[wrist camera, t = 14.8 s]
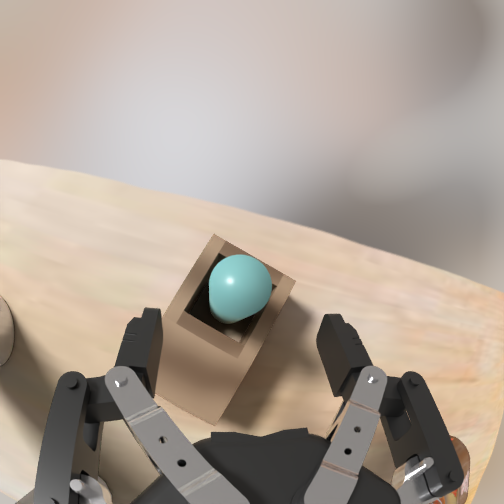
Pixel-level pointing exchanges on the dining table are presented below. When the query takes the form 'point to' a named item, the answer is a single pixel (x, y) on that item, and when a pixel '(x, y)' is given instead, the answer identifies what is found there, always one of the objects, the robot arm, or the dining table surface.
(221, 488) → the robot arm
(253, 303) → the peg
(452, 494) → the tin
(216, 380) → the socket
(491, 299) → the dining table surface
